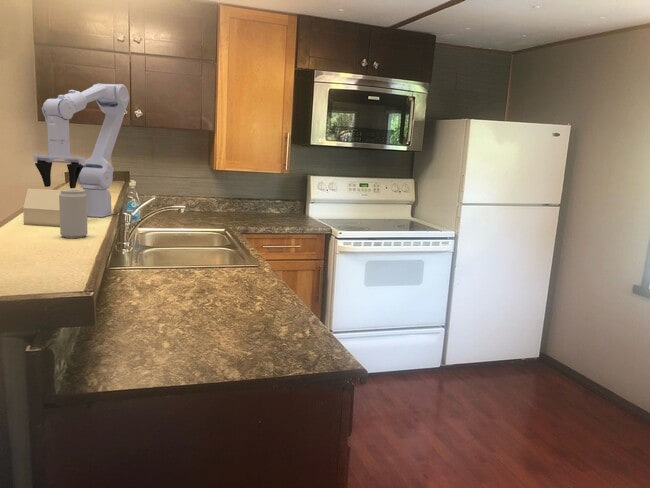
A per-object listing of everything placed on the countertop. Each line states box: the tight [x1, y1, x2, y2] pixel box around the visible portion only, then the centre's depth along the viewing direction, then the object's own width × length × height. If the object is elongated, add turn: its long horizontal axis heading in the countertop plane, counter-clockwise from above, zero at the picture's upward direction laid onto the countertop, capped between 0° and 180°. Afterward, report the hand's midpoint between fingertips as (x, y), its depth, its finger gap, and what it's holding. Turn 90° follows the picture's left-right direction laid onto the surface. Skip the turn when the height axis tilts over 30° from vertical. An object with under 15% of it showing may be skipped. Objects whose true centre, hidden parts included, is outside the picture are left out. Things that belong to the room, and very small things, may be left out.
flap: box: [22, 188, 62, 211], centre depth 154 cm, size 6×11×1 cm
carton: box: [22, 208, 60, 228], centre depth 156 cm, size 6×11×4 cm, turn 88°
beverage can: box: [59, 189, 89, 239], centre depth 140 cm, size 6×6×12 cm
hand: (60, 187), depth 162 cm, fingers open, 7 cm apart
